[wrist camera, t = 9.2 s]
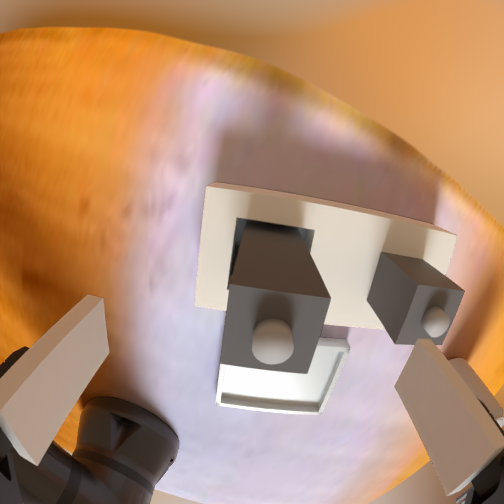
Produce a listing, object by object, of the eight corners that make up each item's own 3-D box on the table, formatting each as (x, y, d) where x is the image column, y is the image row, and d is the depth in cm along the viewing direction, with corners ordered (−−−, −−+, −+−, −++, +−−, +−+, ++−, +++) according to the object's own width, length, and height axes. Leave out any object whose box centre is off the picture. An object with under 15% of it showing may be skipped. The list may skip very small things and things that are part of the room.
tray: (217, 395, 30) (215, 404, 28) (225, 324, 27) (223, 333, 25) (319, 405, 30) (321, 414, 28) (346, 339, 27) (350, 348, 25)
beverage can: (418, 394, 29) (451, 461, 18) (437, 356, 27) (483, 423, 16) (452, 388, 29) (487, 446, 18) (471, 352, 27) (517, 409, 16)
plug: (240, 268, 24) (217, 378, 11) (246, 220, 22) (226, 295, 10) (288, 275, 24) (309, 388, 11) (297, 228, 22) (336, 310, 10)
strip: (204, 284, 25) (169, 363, 15) (215, 182, 23) (175, 200, 12) (406, 310, 26) (460, 379, 15) (433, 224, 23) (512, 264, 12)
